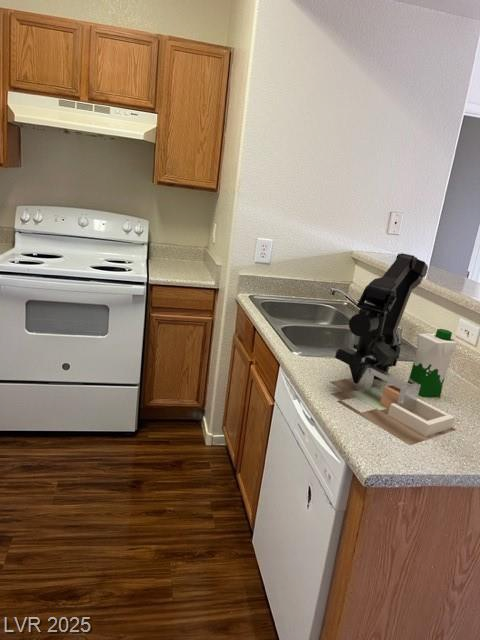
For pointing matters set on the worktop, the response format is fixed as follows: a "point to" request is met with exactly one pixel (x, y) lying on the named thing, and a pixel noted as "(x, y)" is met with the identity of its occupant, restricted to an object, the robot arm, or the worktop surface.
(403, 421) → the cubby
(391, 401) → the cube
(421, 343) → the milk carton
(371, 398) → the board
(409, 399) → the grey bridge
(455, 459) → the worktop surface
